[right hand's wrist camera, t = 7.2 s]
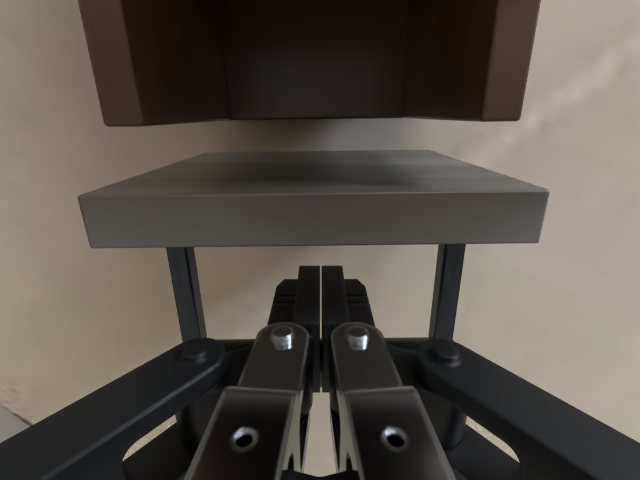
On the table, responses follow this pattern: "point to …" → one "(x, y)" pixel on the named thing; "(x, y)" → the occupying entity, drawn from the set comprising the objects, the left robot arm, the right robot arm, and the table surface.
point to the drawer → (311, 103)
